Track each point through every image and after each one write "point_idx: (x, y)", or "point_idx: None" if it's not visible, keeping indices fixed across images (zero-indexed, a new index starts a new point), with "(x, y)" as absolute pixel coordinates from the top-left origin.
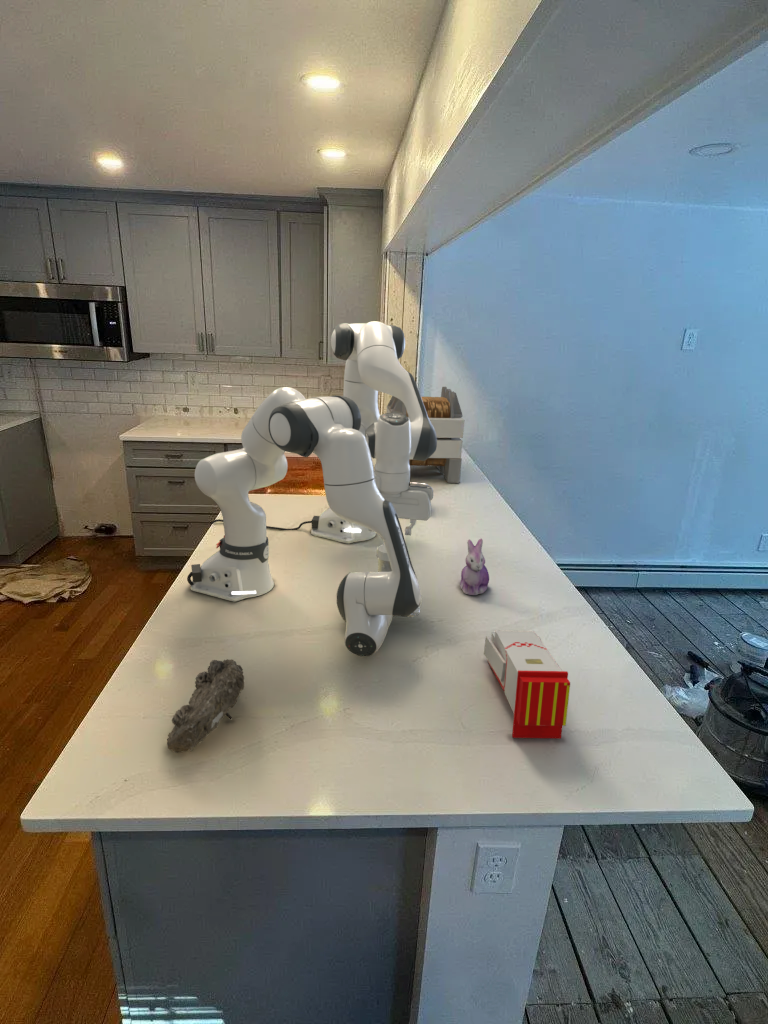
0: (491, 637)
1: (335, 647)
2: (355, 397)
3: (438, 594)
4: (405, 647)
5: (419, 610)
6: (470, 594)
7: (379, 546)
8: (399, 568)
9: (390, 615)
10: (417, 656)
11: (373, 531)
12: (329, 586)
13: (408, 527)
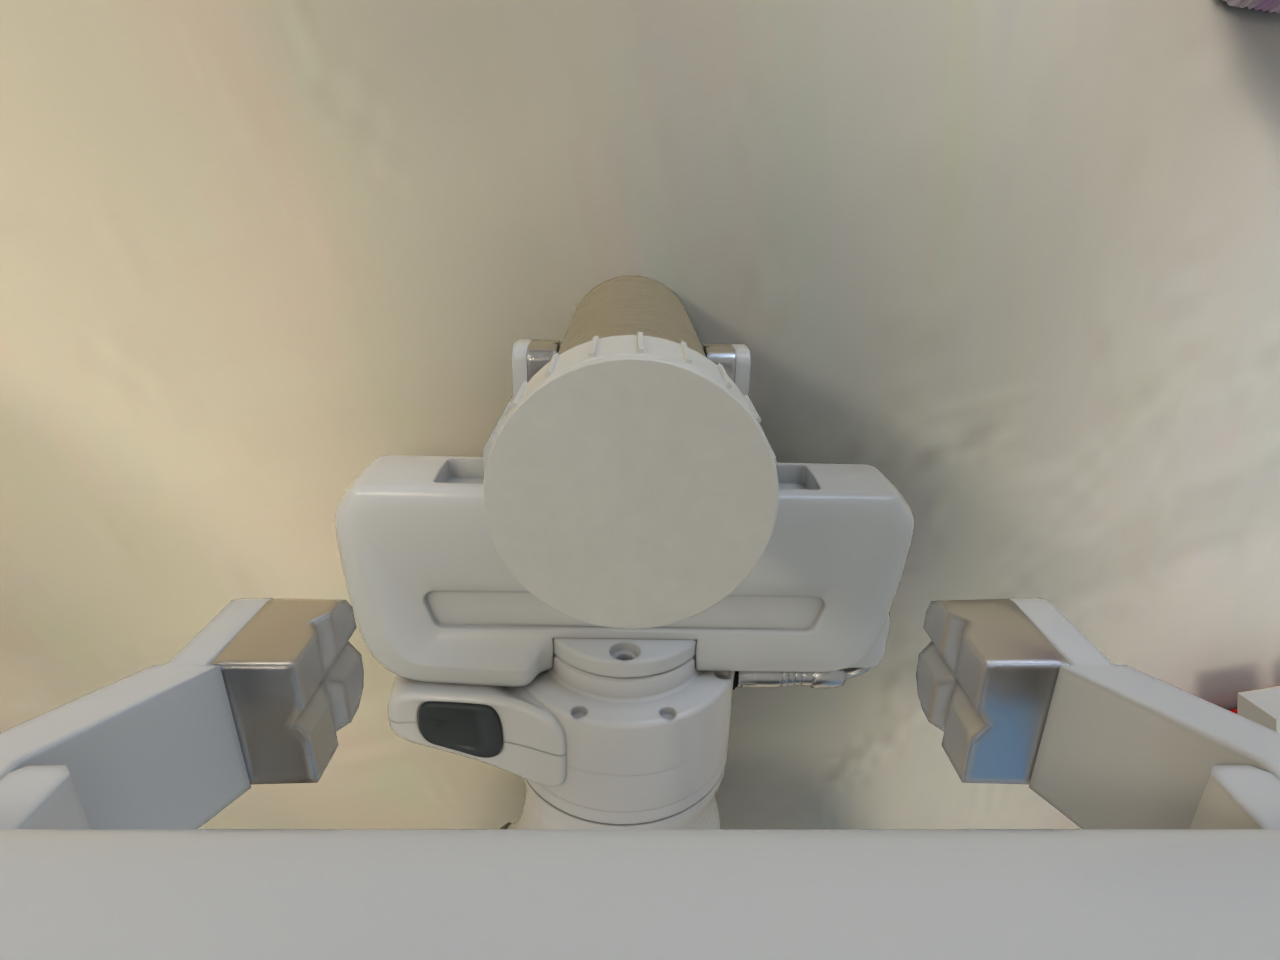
0: (1252, 706)
1: (483, 764)
2: None
3: (998, 63)
4: (790, 701)
5: (886, 632)
6: (1264, 10)
7: (502, 476)
8: None
9: (724, 770)
10: (847, 747)
11: (353, 691)
12: (164, 160)
13: (1038, 703)
